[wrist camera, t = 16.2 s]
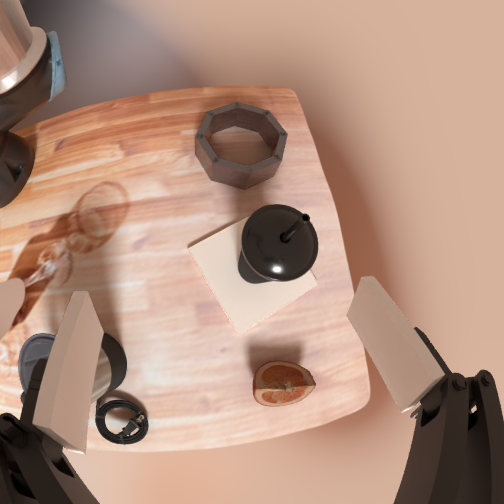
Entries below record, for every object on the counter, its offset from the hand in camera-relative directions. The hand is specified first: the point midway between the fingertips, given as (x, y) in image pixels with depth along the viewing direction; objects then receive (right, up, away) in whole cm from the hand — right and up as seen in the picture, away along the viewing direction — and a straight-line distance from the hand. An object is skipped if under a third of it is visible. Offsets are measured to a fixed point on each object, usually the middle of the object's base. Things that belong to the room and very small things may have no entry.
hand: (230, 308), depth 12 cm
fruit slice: (+5, -16, +24) cm, 29 cm away
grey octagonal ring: (-1, +19, +31) cm, 37 cm away
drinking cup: (+1, 0, +27) cm, 27 cm away
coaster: (+1, 0, +27) cm, 27 cm away
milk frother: (-19, -17, +19) cm, 32 cm away
